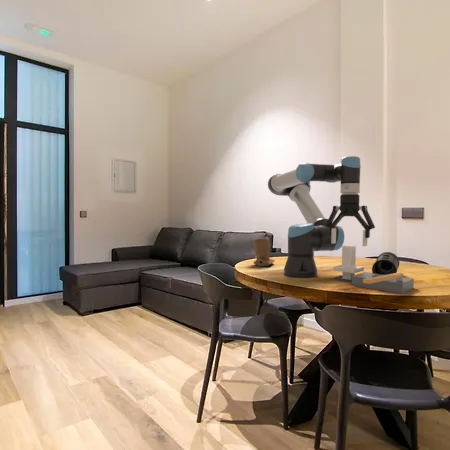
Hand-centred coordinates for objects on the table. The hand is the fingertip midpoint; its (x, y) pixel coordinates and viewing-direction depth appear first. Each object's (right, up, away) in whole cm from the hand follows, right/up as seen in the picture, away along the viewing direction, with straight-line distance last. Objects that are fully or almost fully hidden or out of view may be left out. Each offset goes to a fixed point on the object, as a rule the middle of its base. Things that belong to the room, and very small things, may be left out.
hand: (348, 244), depth 135 cm
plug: (0, -14, 0) cm, 14 cm away
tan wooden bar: (+2, -10, -26) cm, 28 cm away
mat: (0, -15, 0) cm, 15 cm away
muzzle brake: (+19, -15, +5) cm, 25 cm away
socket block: (+8, -16, -13) cm, 22 cm away
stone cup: (-32, -14, +41) cm, 53 cm away
